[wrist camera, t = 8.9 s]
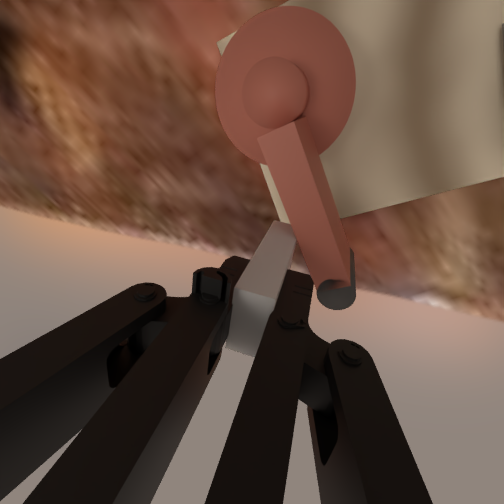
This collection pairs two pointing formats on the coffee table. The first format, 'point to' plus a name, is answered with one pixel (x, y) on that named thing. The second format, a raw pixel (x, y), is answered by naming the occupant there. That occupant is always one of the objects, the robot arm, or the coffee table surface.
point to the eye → (503, 32)
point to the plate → (414, 100)
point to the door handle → (294, 127)
